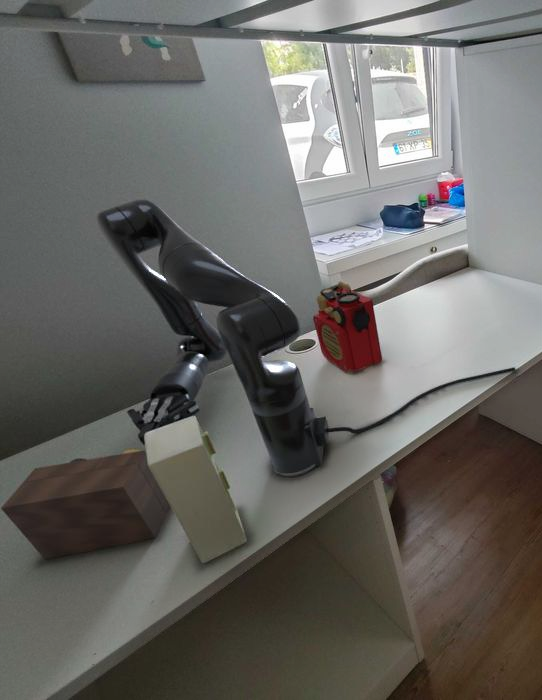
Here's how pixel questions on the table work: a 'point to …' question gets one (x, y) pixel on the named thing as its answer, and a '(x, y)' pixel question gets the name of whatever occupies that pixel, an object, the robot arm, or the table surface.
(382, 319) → the table surface
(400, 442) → the table surface
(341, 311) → the radio
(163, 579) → the table surface
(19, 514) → the control box
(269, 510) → the table surface
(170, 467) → the toy refrigerator
